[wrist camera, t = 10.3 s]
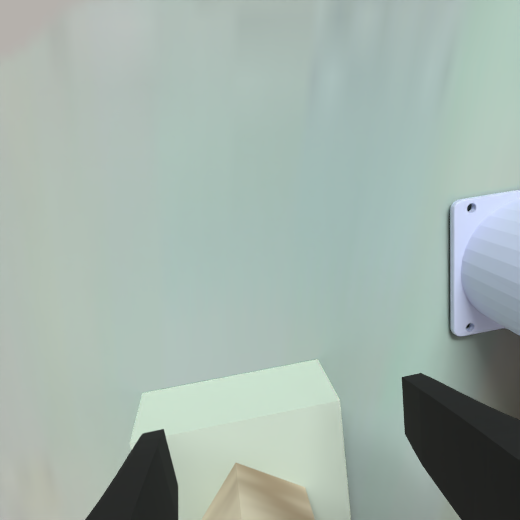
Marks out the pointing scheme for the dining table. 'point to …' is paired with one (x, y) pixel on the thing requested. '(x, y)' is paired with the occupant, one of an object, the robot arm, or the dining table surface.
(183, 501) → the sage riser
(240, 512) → the maple block
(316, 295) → the dining table surface
